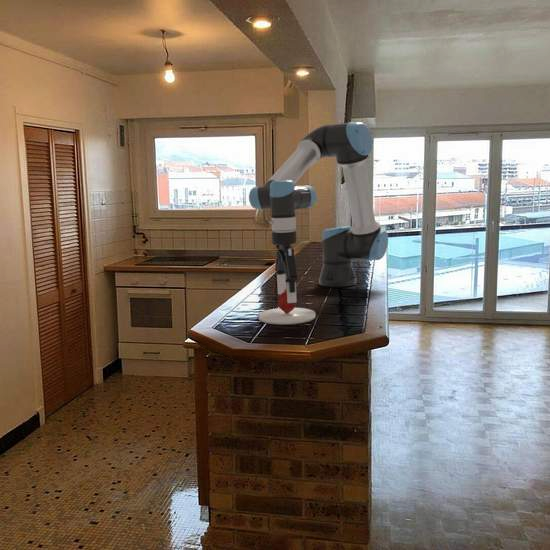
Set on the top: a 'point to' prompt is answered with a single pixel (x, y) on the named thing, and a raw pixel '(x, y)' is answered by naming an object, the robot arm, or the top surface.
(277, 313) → the plate
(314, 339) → the top surface
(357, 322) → the top surface
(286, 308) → the onion
